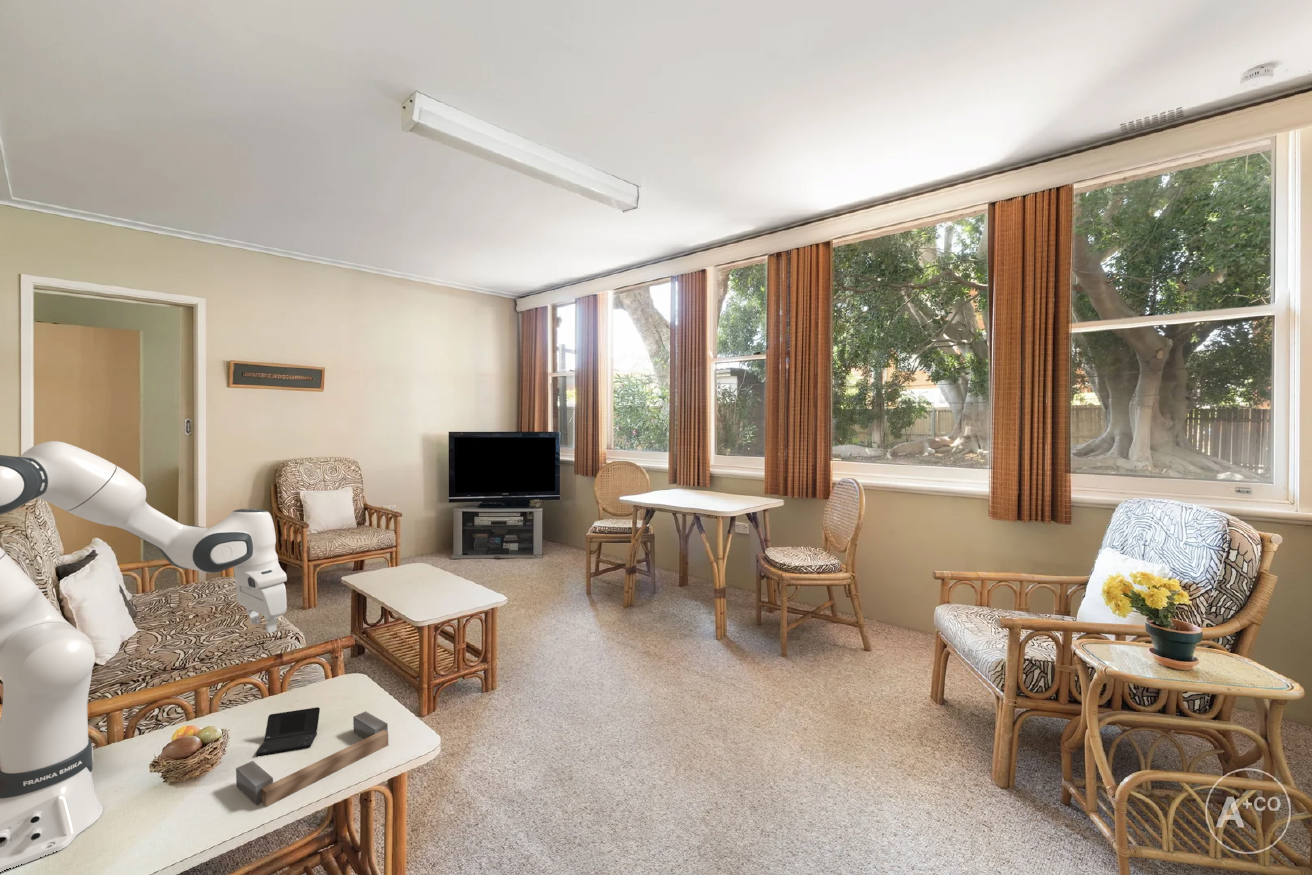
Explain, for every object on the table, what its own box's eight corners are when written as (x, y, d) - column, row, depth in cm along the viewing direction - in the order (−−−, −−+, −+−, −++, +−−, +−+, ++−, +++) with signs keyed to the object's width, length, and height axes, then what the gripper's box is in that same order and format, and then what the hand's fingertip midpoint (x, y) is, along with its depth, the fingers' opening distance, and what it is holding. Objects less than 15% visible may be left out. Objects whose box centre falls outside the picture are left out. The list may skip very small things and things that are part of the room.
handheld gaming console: (254, 755, 123) (264, 707, 129) (256, 761, 128) (266, 714, 134) (314, 748, 128) (321, 702, 134) (313, 754, 133) (320, 710, 139)
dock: (260, 809, 108) (259, 789, 108) (236, 786, 115) (236, 768, 114) (392, 742, 130) (392, 726, 130) (365, 726, 137) (365, 711, 137)
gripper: (226, 570, 138) (232, 623, 139) (259, 583, 126) (265, 641, 128) (255, 563, 143) (260, 614, 144) (289, 575, 132) (295, 631, 133)
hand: (263, 627), depth 136 cm, fingers open, 8 cm apart
